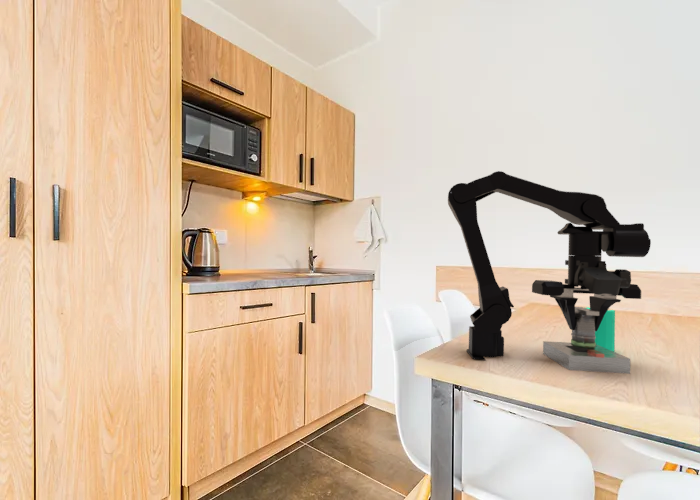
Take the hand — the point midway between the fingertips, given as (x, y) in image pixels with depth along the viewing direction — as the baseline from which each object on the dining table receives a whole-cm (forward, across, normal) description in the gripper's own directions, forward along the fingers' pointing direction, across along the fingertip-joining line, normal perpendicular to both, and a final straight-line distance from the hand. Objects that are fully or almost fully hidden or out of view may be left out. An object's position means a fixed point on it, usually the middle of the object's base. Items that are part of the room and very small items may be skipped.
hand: (583, 330), depth 71 cm
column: (+3, 0, 0) cm, 3 cm away
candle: (+8, +10, +12) cm, 17 cm away
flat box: (+7, 0, 0) cm, 7 cm away
